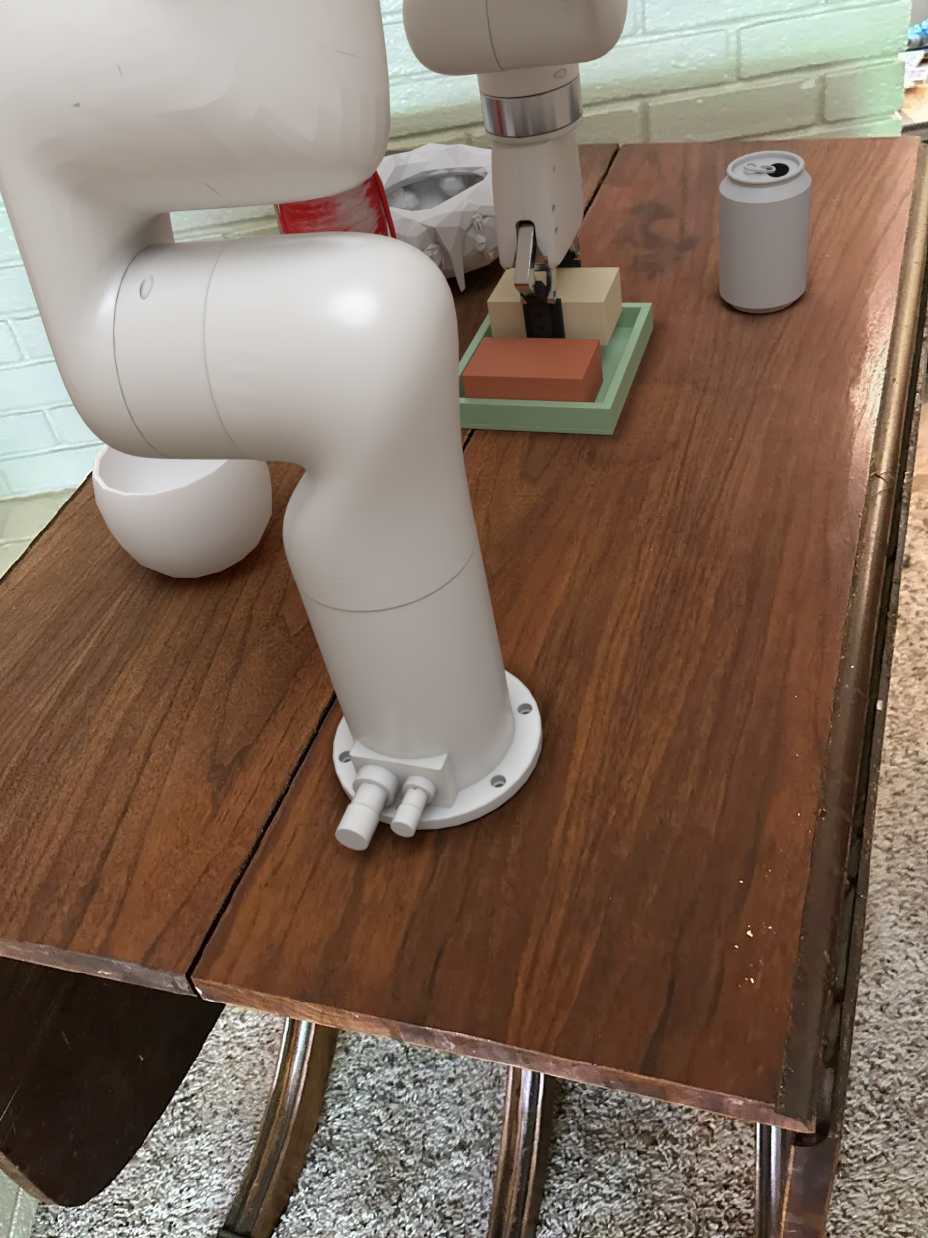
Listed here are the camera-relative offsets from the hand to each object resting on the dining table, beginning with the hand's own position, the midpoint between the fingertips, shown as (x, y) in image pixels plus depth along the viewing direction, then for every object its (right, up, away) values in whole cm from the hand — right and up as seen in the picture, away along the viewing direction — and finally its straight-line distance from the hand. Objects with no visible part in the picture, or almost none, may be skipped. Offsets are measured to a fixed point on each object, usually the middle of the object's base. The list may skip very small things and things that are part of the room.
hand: (556, 321), depth 93 cm
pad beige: (0, 0, 0) cm, 1 cm away
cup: (-27, -21, -10) cm, 36 cm away
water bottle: (-16, -7, +1) cm, 18 cm away
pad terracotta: (-2, -7, -3) cm, 8 cm away
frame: (0, -5, 0) cm, 5 cm away
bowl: (-10, +11, +19) cm, 24 cm away
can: (+19, +3, +4) cm, 20 cm away
